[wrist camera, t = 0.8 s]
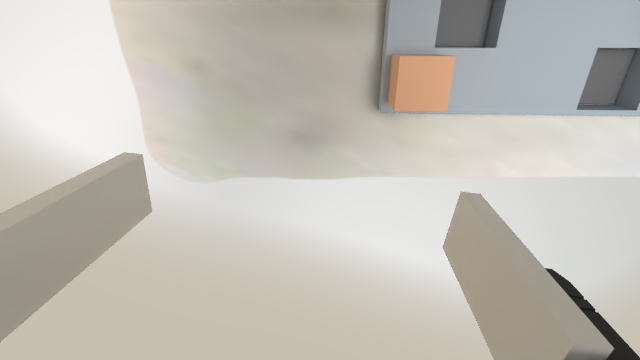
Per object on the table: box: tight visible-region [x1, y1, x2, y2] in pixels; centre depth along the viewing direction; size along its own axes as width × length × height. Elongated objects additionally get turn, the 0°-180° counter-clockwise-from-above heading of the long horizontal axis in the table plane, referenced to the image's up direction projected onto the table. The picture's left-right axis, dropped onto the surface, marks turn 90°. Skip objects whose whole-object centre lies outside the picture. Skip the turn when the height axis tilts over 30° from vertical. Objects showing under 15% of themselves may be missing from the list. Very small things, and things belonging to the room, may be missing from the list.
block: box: [388, 55, 456, 112], centre depth 25 cm, size 4×4×4 cm
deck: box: [378, 0, 640, 116], centre depth 24 cm, size 30×11×5 cm, turn 90°
